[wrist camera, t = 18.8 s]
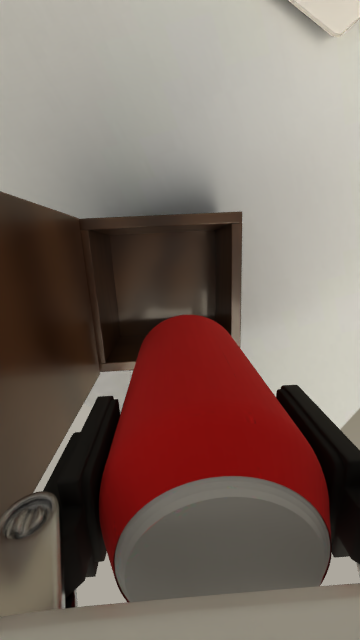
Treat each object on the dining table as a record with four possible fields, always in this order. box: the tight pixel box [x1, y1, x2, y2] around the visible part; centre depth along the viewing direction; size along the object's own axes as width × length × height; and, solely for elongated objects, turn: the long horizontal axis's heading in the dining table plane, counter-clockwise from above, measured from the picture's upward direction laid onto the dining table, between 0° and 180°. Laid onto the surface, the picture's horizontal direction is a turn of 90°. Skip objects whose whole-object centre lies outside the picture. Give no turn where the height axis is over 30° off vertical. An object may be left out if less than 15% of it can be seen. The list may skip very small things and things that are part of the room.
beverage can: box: [99, 315, 332, 602], centre depth 11 cm, size 6×6×12 cm
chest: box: [79, 212, 242, 372], centre depth 28 cm, size 14×14×9 cm
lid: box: [0, 191, 100, 518], centre depth 16 cm, size 15×14×6 cm
